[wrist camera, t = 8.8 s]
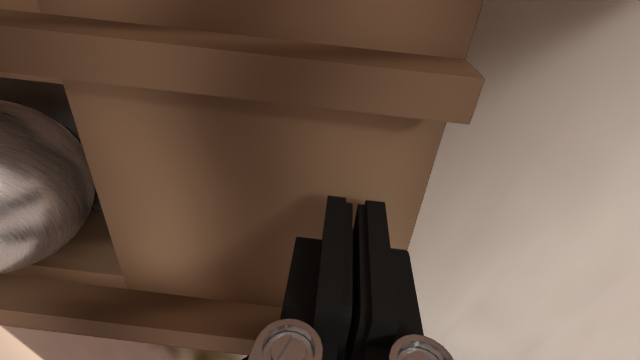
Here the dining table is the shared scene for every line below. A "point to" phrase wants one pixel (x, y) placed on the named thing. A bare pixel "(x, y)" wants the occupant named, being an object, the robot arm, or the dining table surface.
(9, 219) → the steel ball
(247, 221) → the wooden box
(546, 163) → the dining table surface
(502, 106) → the dining table surface
